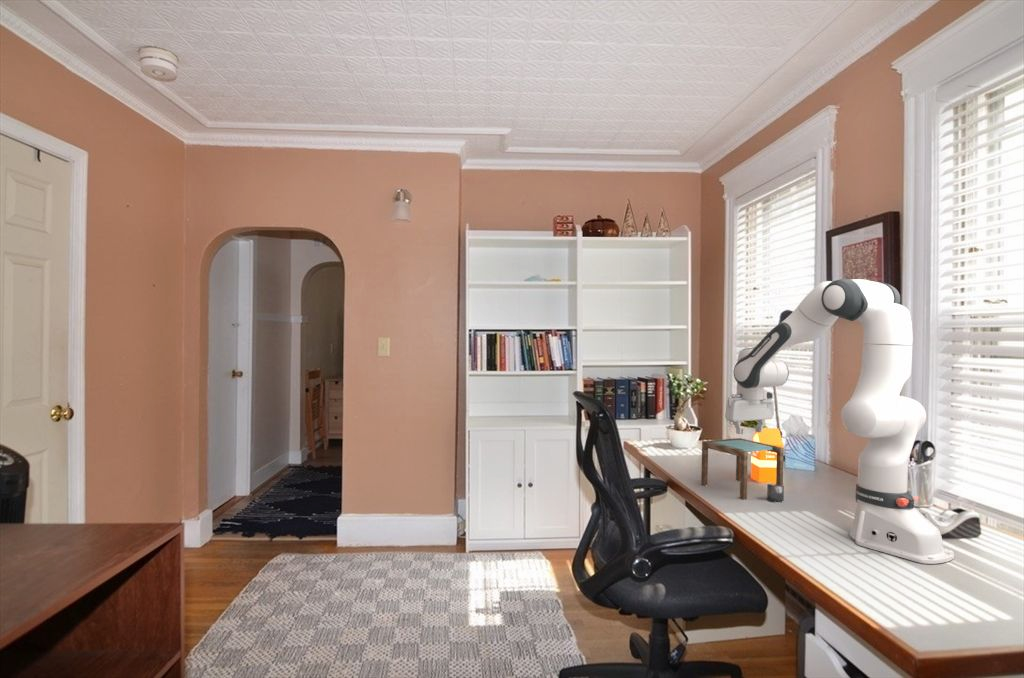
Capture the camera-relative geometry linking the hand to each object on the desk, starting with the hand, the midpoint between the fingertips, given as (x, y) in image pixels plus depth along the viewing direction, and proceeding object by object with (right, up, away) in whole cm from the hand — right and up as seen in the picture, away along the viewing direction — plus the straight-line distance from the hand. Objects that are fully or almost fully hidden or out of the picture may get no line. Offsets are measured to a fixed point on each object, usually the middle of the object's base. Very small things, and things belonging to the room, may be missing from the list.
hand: (749, 433), depth 192 cm
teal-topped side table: (-2, -21, +3) cm, 21 cm away
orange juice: (+13, -21, +15) cm, 29 cm away
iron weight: (+4, -21, -10) cm, 23 cm away
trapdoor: (-1, -6, +3) cm, 6 cm away
